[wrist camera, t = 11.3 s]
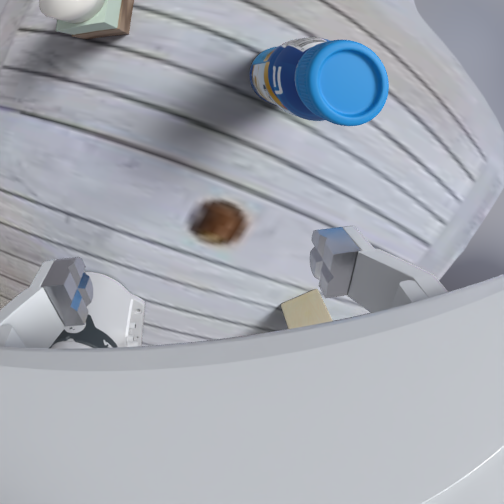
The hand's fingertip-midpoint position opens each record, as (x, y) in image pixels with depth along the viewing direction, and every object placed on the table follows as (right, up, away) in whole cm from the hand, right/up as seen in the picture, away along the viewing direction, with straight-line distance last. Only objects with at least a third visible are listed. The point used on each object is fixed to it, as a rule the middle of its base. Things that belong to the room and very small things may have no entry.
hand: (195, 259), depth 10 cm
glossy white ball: (-14, +24, +6) cm, 29 cm away
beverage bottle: (+5, +23, +24) cm, 34 cm away
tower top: (-15, +27, +10) cm, 33 cm away
